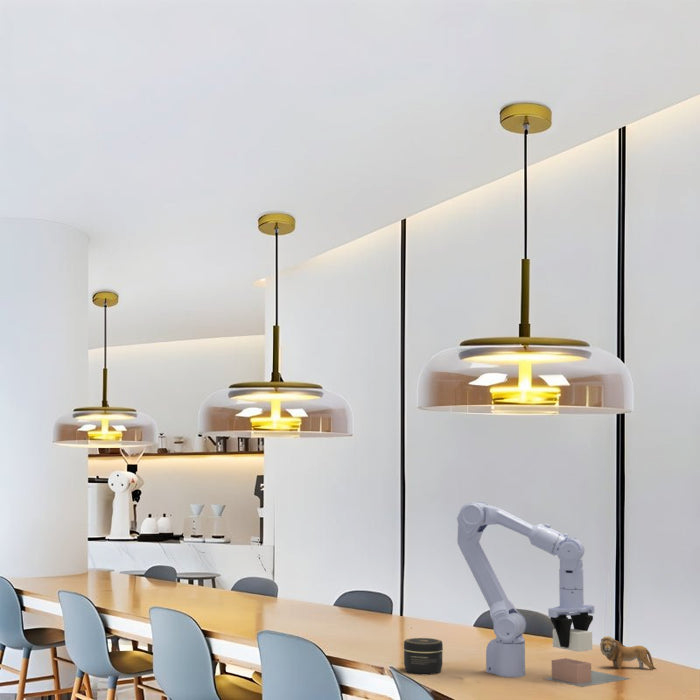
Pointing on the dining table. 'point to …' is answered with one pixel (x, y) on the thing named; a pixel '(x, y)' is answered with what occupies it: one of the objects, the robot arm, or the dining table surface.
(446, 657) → the dining table surface
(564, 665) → the terracotta brick
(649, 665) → the lion figurine
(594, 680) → the baseplate
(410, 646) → the jar
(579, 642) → the cream brick
